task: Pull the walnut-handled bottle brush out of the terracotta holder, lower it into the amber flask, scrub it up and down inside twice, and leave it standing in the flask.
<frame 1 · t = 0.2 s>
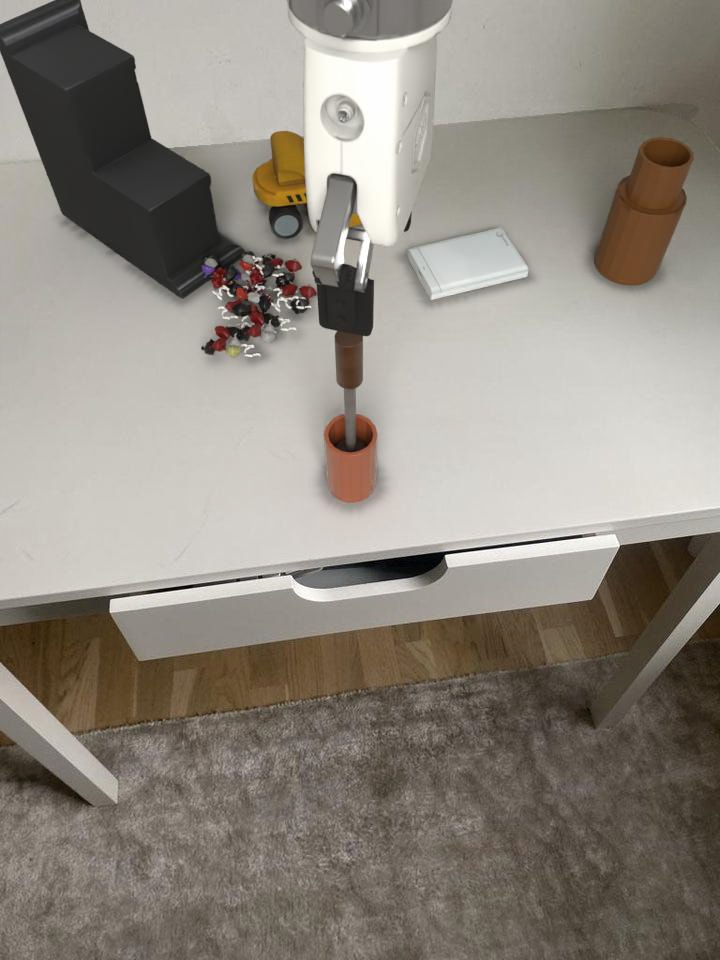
hand: (367, 274, 48), 30 cm above the table, tool pointing down, fingers open, 9 cm apart
brush: (351, 479, 75), resting on holder
toy roller: (313, 216, 99), on the table
black stepped block: (152, 237, 96), on the table
toy collection: (255, 313, 89), on the table
holder: (351, 482, 76), on the table
hard drive: (466, 269, 93), on the table
flask: (625, 264, 93), on the table
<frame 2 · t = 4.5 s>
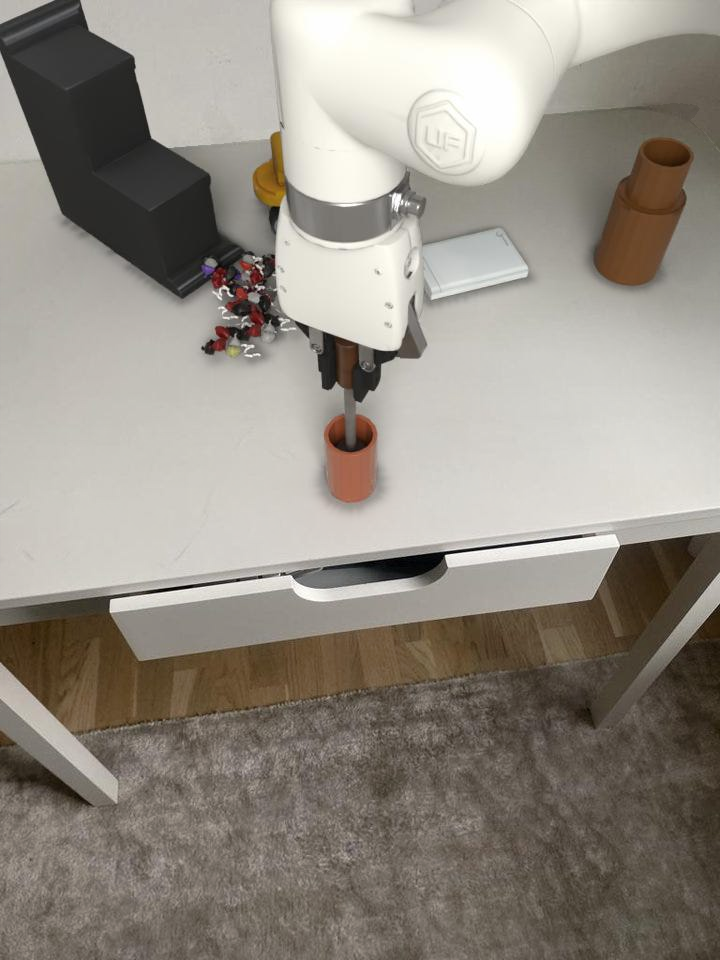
hand: (349, 382, 63), 15 cm above the table, tool pointing down, fingers closed on brush, 2 cm apart
brush: (351, 479, 75), point 1 cm above the table, touching gripper, holder
everything else where it was.
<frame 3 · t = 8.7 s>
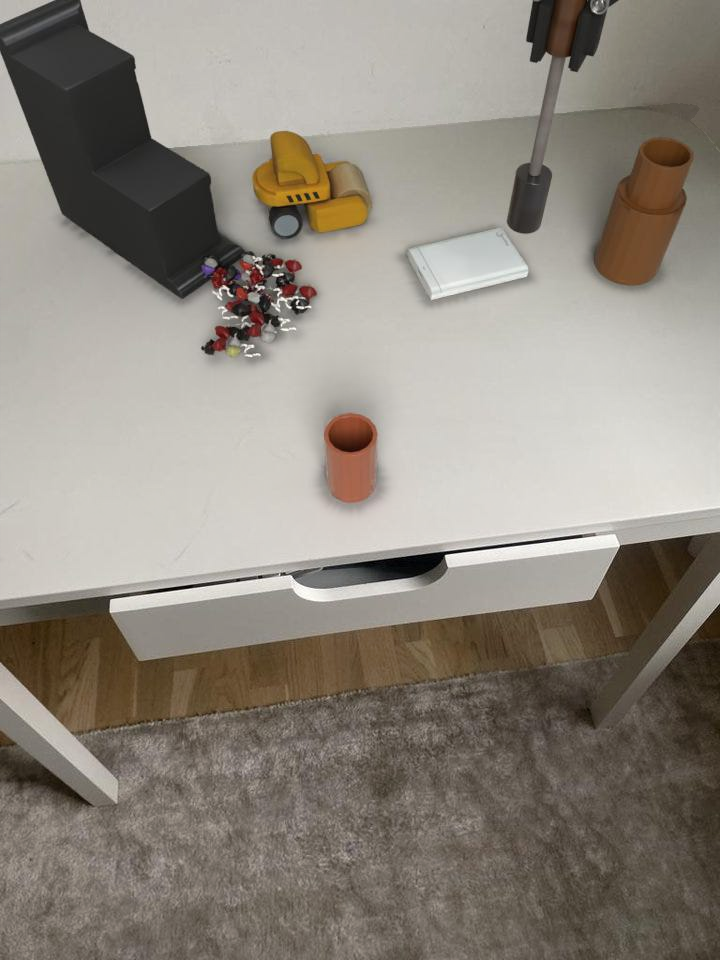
hand: (559, 56, 55), 34 cm above the table, tool pointing down, fingers closed on brush
brush: (523, 223, 67), point 20 cm above the table, touching gripper
everything else where it was.
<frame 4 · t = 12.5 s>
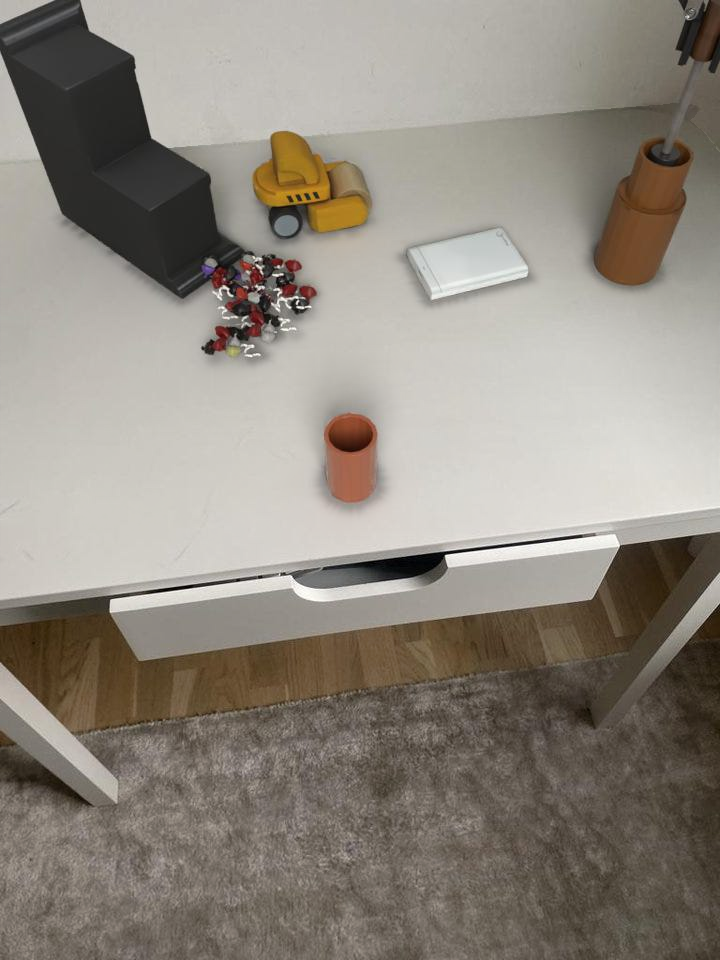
hand: (699, 61, 73), 25 cm above the table, tool pointing down, fingers closed on brush
brush: (650, 192, 85), point 10 cm above the table, touching gripper
everything else where it was.
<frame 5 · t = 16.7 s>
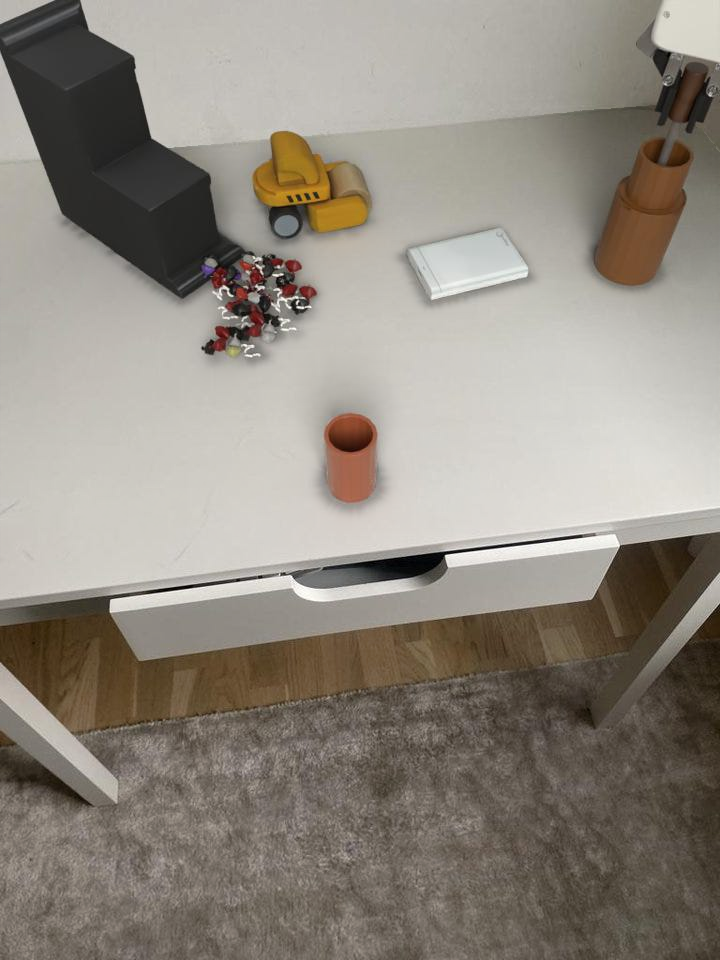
hand: (677, 121, 78), 18 cm above the table, tool pointing down, fingers closed on brush
brush: (634, 236, 90), point 4 cm above the table, touching gripper
everything else where it was.
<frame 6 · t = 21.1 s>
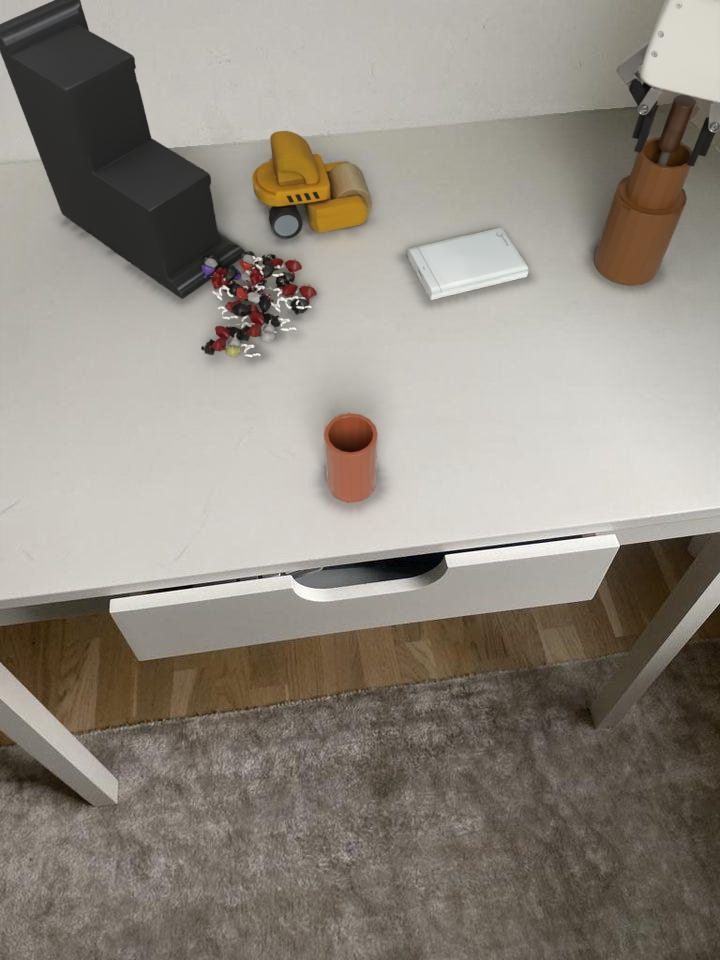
hand: (667, 150, 80), 15 cm above the table, tool pointing down, fingers open, 5 cm apart
brush: (626, 259, 93), point 1 cm above the table, touching flask
everything else where it was.
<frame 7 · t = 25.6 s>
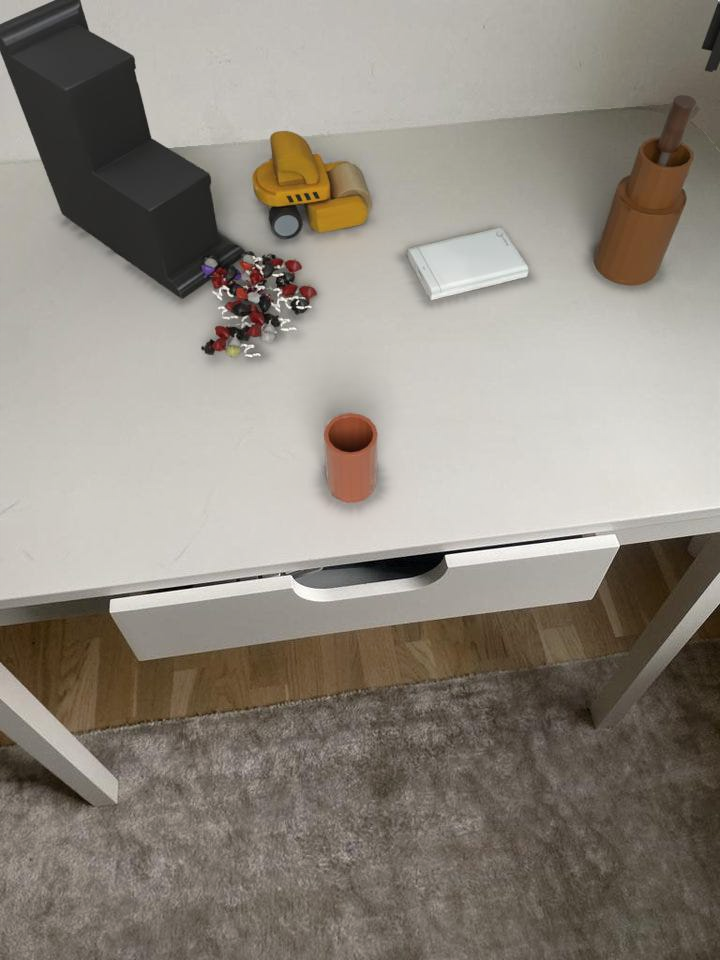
nothing on the table moved.
at the end: brush 0.1 cm off-centre in the flask, point 0.6 cm above the flask's base; brush moved 46.2 cm from its start; the gripper is holding nothing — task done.
